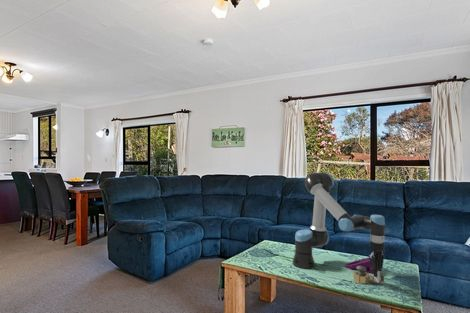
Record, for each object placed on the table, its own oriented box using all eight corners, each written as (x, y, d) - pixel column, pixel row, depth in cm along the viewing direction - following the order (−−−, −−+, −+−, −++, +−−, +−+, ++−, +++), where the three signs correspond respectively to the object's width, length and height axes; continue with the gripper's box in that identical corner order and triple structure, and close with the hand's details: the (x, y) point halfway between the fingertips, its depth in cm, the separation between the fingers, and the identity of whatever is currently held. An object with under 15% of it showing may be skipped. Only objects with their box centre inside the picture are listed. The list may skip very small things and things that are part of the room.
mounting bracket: (349, 280, 186) (376, 274, 177) (343, 267, 188) (370, 260, 179) (352, 275, 194) (378, 269, 185) (346, 263, 196) (372, 256, 187)
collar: (355, 282, 166) (355, 274, 166) (352, 276, 174) (352, 269, 174) (385, 286, 162) (385, 277, 162) (381, 279, 170) (381, 272, 170)
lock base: (338, 284, 166) (338, 269, 166) (335, 275, 179) (335, 261, 179) (390, 290, 159) (390, 275, 159) (383, 280, 172) (383, 265, 172)
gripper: (376, 245, 158) (376, 286, 158) (389, 241, 165) (389, 281, 165) (364, 241, 165) (363, 281, 165) (377, 238, 171) (377, 277, 171)
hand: (376, 281), depth 165 cm, fingers closed
